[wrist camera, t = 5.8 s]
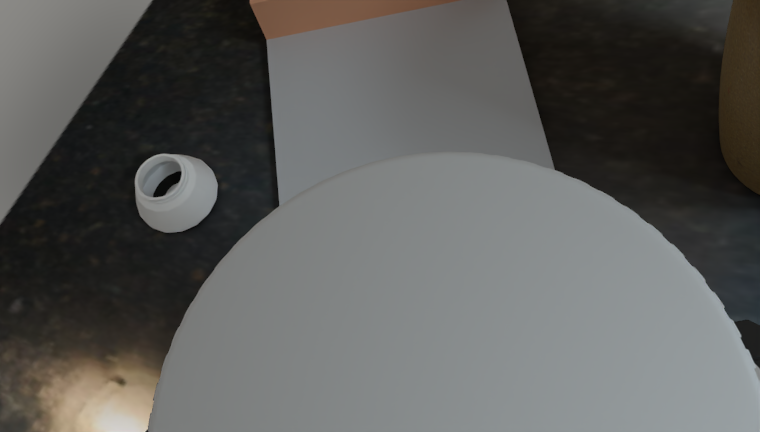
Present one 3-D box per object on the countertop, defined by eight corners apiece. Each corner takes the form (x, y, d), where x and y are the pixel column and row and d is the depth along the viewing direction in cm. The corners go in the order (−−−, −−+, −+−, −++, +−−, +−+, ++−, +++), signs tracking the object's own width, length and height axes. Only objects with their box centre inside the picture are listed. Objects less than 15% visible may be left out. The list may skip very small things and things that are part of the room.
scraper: (494, -36, 42) (496, -85, 38) (595, 322, 32) (611, 302, 28) (266, 11, 43) (247, -32, 39) (295, 371, 33) (273, 358, 29)
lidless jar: (166, 153, 40) (128, 221, 38) (144, 129, 37) (102, 201, 36) (233, 173, 39) (197, 245, 37) (215, 151, 36) (175, 227, 34)
